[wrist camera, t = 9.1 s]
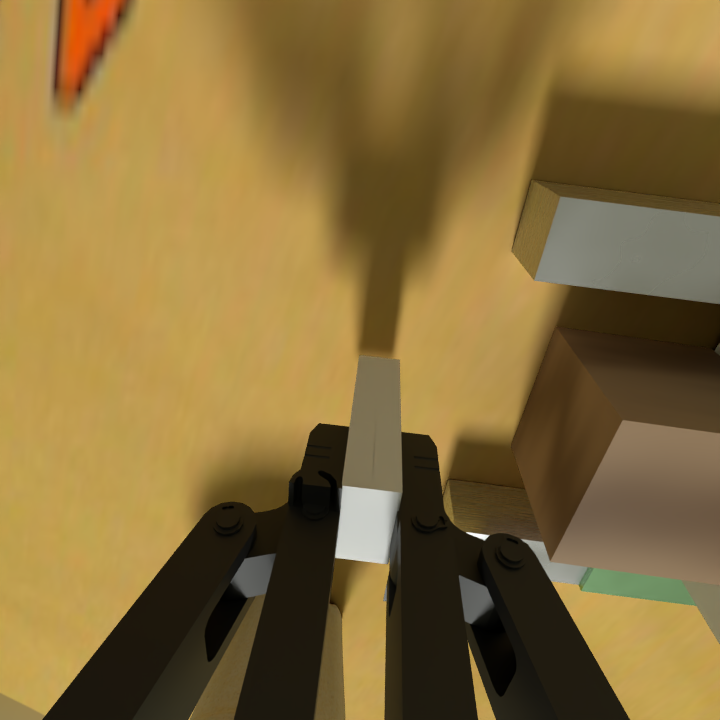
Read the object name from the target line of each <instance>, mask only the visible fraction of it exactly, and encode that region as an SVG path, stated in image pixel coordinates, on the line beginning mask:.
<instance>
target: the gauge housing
mask: <svg viewBox="0 0 720 720" xmlns="http://www.w3.org/2000/svg"><path fill="white" fill-rule="evenodd" d="M512 253H513V254H514V255H515V257H516V258H517V259H518V260H519V262H520V263H521V264H522V266H523V267H524V268H525V269H526V271H527V272H528V273H529V275H530V276H531V277H532V278H533V280H534V281H541V282H549V283H557V284H565V285H573V286H581V287H589V288H597V289H605V290H613V291H620V292H628V293H636V294H644V295H652V296H660V297H668V298H676V299H684V300H692V301H699V302H707V303H715V304H720V204H719V203H711V202H703V201H695V200H687V199H679V198H671V197H663V196H656V195H648V194H640V193H632V192H624V191H616V190H608V189H600V188H592V187H584V186H576V185H568V184H560V183H552V182H544V181H536V180H531V184H530V188H529V191H528V195H527V198H526V202H525V205H524V209H523V213H522V216H521V220H520V223H519V227H518V231H517V234H516V238H515V241H514V245H513V248H512ZM443 503H444V509H445V512H446V514H447V515H448V517H449V518H450V521H451V522H452V523H453V524H454V525H455V526H456V527H458V528H459V529H460V530H462V531H464V532H466V533H468V534H470V535H473V536H475V537H478V538H480V539H482V540H485V539H486V538H487V537H489V536H490V535H492V534H496V533H506V534H510V535H513V536H515V537H518V538H520V539H521V540H522V541H524V542H525V543H527V544H528V545H529V546H530V548H531V549H532V550H533V551H534V553H535V554H536V556H537V558H538V559H539V561H540V563H541V565H542V566H543V568H544V570H545V572H546V573H547V575H548V577H549V579H550V580H551V581H554V582H562V583H570V584H577V585H579V587H580V589H581V591H585V592H593V593H601V594H608V595H616V596H624V597H632V598H640V599H647V600H655V601H663V602H671V603H679V604H686V605H694V606H696V604H695V602H694V601H693V599H692V597H691V596H690V594H689V592H688V591H687V589H686V587H685V586H684V584H683V582H682V581H681V580H678V579H670V578H663V577H656V576H649V575H641V574H634V573H627V572H620V571H612V570H605V569H598V568H591V567H583V566H576V565H569V564H562V563H554V562H550V560H549V557H548V554H547V551H546V548H545V545H544V542H543V540H542V537H541V534H540V531H539V528H538V525H537V522H536V519H535V516H534V513H533V510H532V507H531V504H530V501H529V498H528V495H527V492H526V489H522V488H515V487H507V486H499V485H491V484H483V483H475V482H468V481H460V480H452V479H448V481H447V485H446V489H445V492H444V496H443Z"/></svg>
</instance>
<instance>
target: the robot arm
mask: <svg viewBox="0 0 720 720" xmlns="http://www.w3.org/2000/svg"><path fill="white" fill-rule="evenodd" d="M389 557H390V571H389V576H388V581H387V585H386V590H385V595H384V600H383V601H387V607H386V664H385V720H478V716H477V709H476V701H475V694H474V686H473V679H472V671H471V664H470V656H469V649H468V643H469V646H470V649H471V651H472V654H473V657H474V660H475V662H476V665H477V668H478V671H479V674H480V676H481V679H482V682H483V685H484V687H485V690H486V693H487V696H488V699H489V701H490V704H491V707H492V710H493V712H494V715H495V718H496V720H630V719H629V717H628V715H627V714H626V712H625V710H624V708H623V707H622V705H621V703H620V701H619V700H618V698H617V696H616V694H615V693H614V691H613V689H612V687H611V686H610V684H609V682H608V680H607V679H606V677H605V675H604V673H603V672H602V670H601V668H600V666H599V665H598V663H597V661H596V659H595V658H594V656H593V654H592V652H591V651H590V649H589V647H588V645H587V644H586V642H585V640H584V638H583V637H582V635H581V633H580V631H579V630H578V628H577V626H576V624H575V623H574V621H573V619H572V617H571V616H570V614H569V612H568V610H567V609H566V607H565V605H564V603H563V601H562V600H561V598H560V596H559V594H558V593H557V591H556V589H555V587H554V586H553V584H552V582H551V580H550V579H549V577H548V575H547V573H546V572H545V570H544V568H543V566H542V565H541V563H540V561H539V559H538V558H537V556H536V554H535V553H534V551H533V550H532V549H531V548H530V546H529V545H528V544H527V543H525V542H524V541H522V540H521V539H520V538H518V537H515V536H513V535H510V534H506V533H496V534H492V535H490V536H489V537H487V538H486V539H485V540H482V539H480V538H478V537H475V536H473V535H470V534H468V533H466V532H464V531H462V530H460V529H459V528H458V527H456V526H455V525H454V524H453V523H452V522H451V521H450V518H449V517H448V515H447V514H446V512H445V509H444V503H443V495H442V486H441V478H440V471H439V462H438V454H437V447H436V445H435V444H434V442H433V441H432V439H431V438H430V436H429V435H422V434H414V433H405V432H401V399H400V360H398V359H389V358H381V357H372V356H364V355H359V361H358V368H357V375H356V383H355V390H354V398H353V405H352V412H351V420H350V427H346V426H338V425H330V424H321V423H319V424H318V425H317V426H316V427H315V428H314V429H313V430H312V431H311V432H310V435H309V439H308V443H307V447H306V451H305V456H304V459H303V463H302V467H301V470H299V471H298V472H297V473H295V474H294V475H293V476H292V478H291V480H290V481H289V499H288V502H287V503H286V504H285V505H283V506H281V507H279V508H277V509H274V510H270V511H265V512H258V513H254V512H253V511H252V509H251V508H250V507H248V506H247V505H245V504H243V503H238V502H227V503H221V504H219V505H217V506H215V507H212V508H211V509H210V510H209V511H208V512H207V513H205V514H204V516H203V517H202V518H201V519H200V521H199V522H198V523H197V524H196V526H195V527H194V528H193V529H192V531H191V532H190V533H189V535H188V536H187V537H186V538H185V540H184V541H183V542H182V543H181V545H180V546H179V547H178V548H177V550H176V551H175V552H174V554H173V555H172V556H171V557H170V559H169V560H168V561H167V562H166V564H165V565H164V566H163V567H162V569H161V570H160V571H159V573H158V574H157V575H156V576H155V578H154V579H153V580H152V581H151V583H150V584H149V585H148V586H147V588H146V589H145V590H144V591H143V593H142V594H141V595H140V597H139V598H138V599H137V600H136V602H135V603H134V604H133V605H132V607H131V608H130V609H129V610H128V612H127V613H126V614H125V616H124V617H123V618H122V619H121V621H120V622H119V623H118V624H117V626H116V627H115V628H114V629H113V631H112V632H111V633H110V635H109V636H108V637H107V638H106V640H105V641H104V642H103V643H102V645H101V646H100V647H99V648H98V650H97V651H96V652H95V654H94V655H93V656H92V657H91V659H90V660H89V661H88V662H87V664H86V665H85V666H84V667H83V669H82V670H81V671H80V673H79V674H78V675H77V676H76V678H75V679H74V680H73V681H72V683H71V684H70V685H69V686H68V688H67V689H66V690H65V692H64V693H63V694H62V695H61V697H60V698H59V699H58V700H57V702H56V703H55V704H54V705H53V707H52V708H51V709H50V711H49V712H48V713H47V714H46V716H45V717H44V718H43V720H188V719H189V717H190V715H191V714H192V712H193V710H194V708H195V706H196V705H197V703H198V701H199V699H200V697H201V695H202V694H203V692H204V690H205V688H206V686H207V685H208V683H209V681H210V679H211V677H212V675H213V674H214V672H215V670H216V668H217V666H218V664H219V663H220V661H221V659H222V657H223V655H224V654H225V652H226V650H227V648H228V646H229V644H230V643H231V641H232V639H233V637H234V635H235V633H236V632H237V630H238V628H239V626H240V624H241V623H242V621H243V619H244V617H245V615H246V613H247V612H248V610H249V608H250V606H251V604H252V603H253V601H254V599H255V596H258V595H263V594H266V595H265V599H264V603H263V607H262V611H261V615H260V618H259V622H258V626H257V630H256V634H255V638H254V642H253V646H252V650H251V654H250V658H249V661H248V665H247V669H246V673H245V677H244V681H243V685H242V689H241V693H240V697H239V700H238V704H237V708H236V712H235V716H234V720H315V716H316V708H317V700H318V692H319V684H320V676H321V668H322V660H323V652H324V644H325V636H326V628H327V620H328V612H329V604H330V596H331V588H332V580H333V571H334V562H335V558H341V559H349V560H357V561H365V562H374V563H382V564H388V562H389ZM467 640H468V641H467Z"/></svg>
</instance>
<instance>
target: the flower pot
mask: <svg viewBox="0 0 720 720" xmlns="http://www.w3.org/2000/svg"><path fill="white" fill-rule="evenodd" d="M265 595H266V594H263V595H258V596H255V599H254V601H253V603H252V604H251V606H250V608H249V610H248V612H247V613H246V615H245V617H244V619H243V621H242V623H241V624H240V626H239V628H238V630H237V632H236V633H235V635H234V637H233V639H232V641H231V643H230V644H229V646H228V648H227V650H226V652H225V654H224V655H223V657H222V659H221V661H220V663H219V664H218V666H217V668H216V670H215V672H214V674H213V675H212V677H211V679H210V681H209V683H208V685H207V686H206V688H205V690H204V692H203V694H202V695H201V697H200V699H199V701H198V703H197V705H196V707H195V709H194V712H193V714H192V716H191V718H190V720H234V716H235V712H236V708H237V704H238V700H239V697H240V693H241V689H242V685H243V681H244V677H245V673H246V669H247V665H248V661H249V658H250V654H251V650H252V646H253V642H254V638H255V634H256V630H257V626H258V622H259V618H260V615H261V611H262V607H263V603H264V599H265ZM315 720H345V699H344V678H343V651H342V618H341V614H340V611H339V609H338V607H337V606H336V605H334V604H329V612H328V620H327V628H326V636H325V644H324V652H323V660H322V668H321V676H320V684H319V692H318V700H317V708H316V716H315Z"/></svg>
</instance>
